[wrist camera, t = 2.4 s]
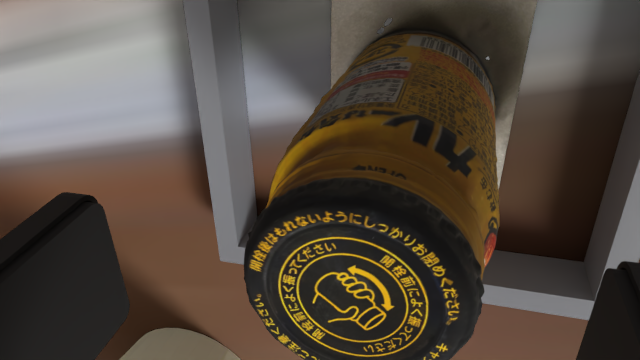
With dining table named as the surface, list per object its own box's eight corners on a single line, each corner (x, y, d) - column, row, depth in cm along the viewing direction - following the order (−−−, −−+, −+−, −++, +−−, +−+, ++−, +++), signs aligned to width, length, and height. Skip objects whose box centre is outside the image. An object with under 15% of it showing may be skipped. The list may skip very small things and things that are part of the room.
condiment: (330, 164, 23) (216, 376, 13) (333, -37, 19) (169, 49, 9) (498, 186, 22) (513, 447, 12) (542, -30, 18) (624, 86, 7)
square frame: (603, 283, 23) (615, 324, 20) (240, 231, 27) (220, 260, 24) (758, -196, 14) (806, -210, 12) (195, -167, 18) (157, -173, 16)
